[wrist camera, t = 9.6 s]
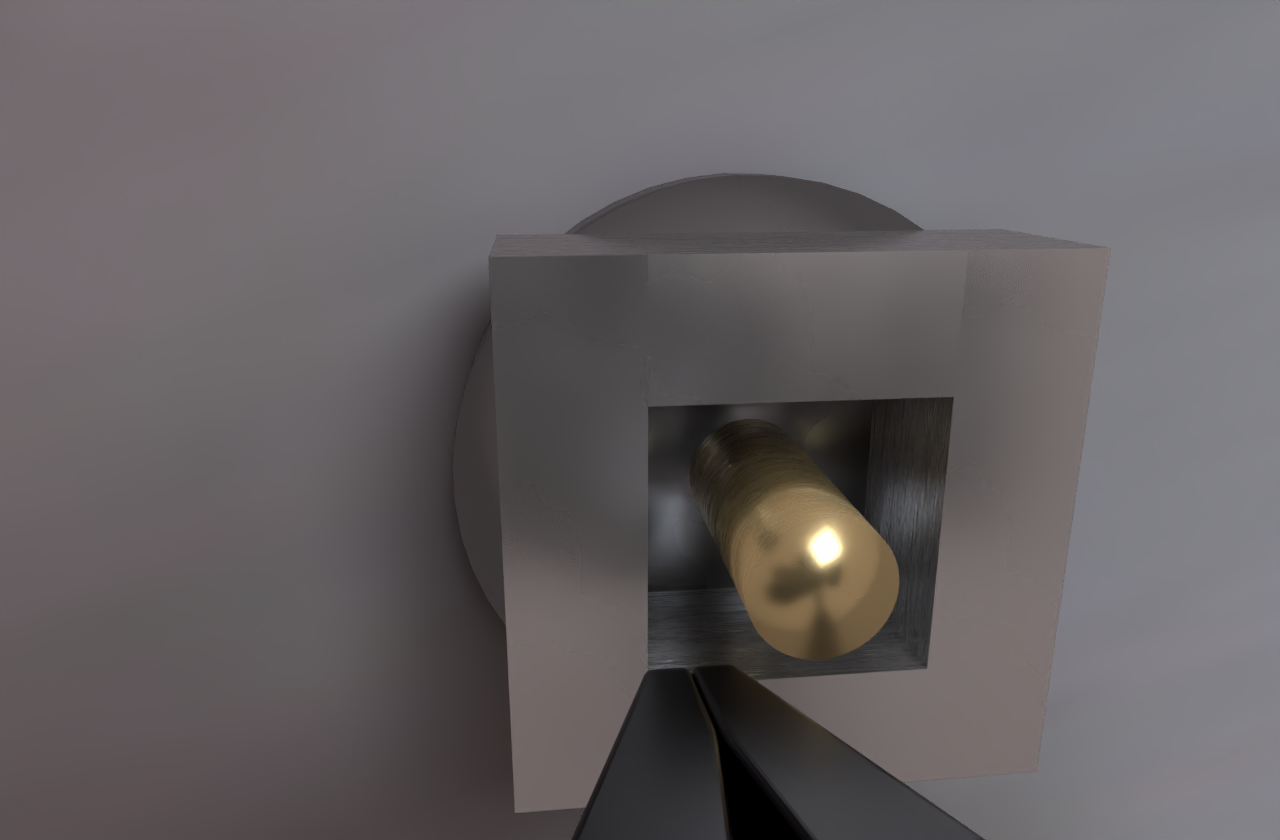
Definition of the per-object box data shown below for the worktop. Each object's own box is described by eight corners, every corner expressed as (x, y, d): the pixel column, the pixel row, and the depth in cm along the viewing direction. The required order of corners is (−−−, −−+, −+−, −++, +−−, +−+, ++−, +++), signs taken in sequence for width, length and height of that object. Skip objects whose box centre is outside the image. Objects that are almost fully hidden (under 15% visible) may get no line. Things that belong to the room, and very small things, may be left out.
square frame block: (953, 670, 14) (1036, 772, 12) (517, 698, 13) (514, 813, 11) (1001, 229, 12) (1111, 248, 10) (496, 234, 11) (488, 257, 9)
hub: (1046, 547, 15) (1266, 717, 11) (606, 758, 15) (638, 1015, 11) (877, 72, 13) (1069, 30, 8) (355, 329, 13) (260, 428, 8)
